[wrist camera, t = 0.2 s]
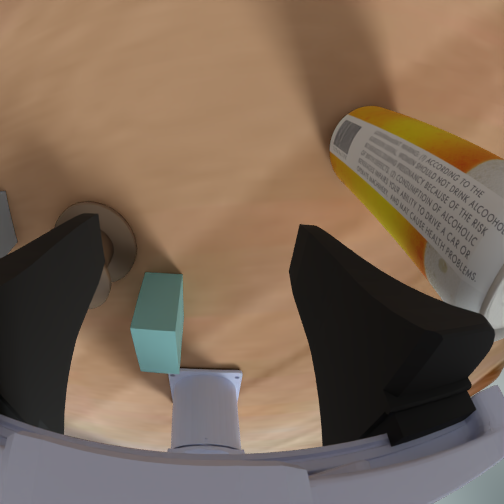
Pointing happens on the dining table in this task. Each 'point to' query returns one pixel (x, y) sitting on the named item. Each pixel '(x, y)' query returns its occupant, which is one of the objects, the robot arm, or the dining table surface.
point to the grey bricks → (6, 227)
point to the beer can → (431, 202)
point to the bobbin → (107, 245)
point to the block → (159, 323)
